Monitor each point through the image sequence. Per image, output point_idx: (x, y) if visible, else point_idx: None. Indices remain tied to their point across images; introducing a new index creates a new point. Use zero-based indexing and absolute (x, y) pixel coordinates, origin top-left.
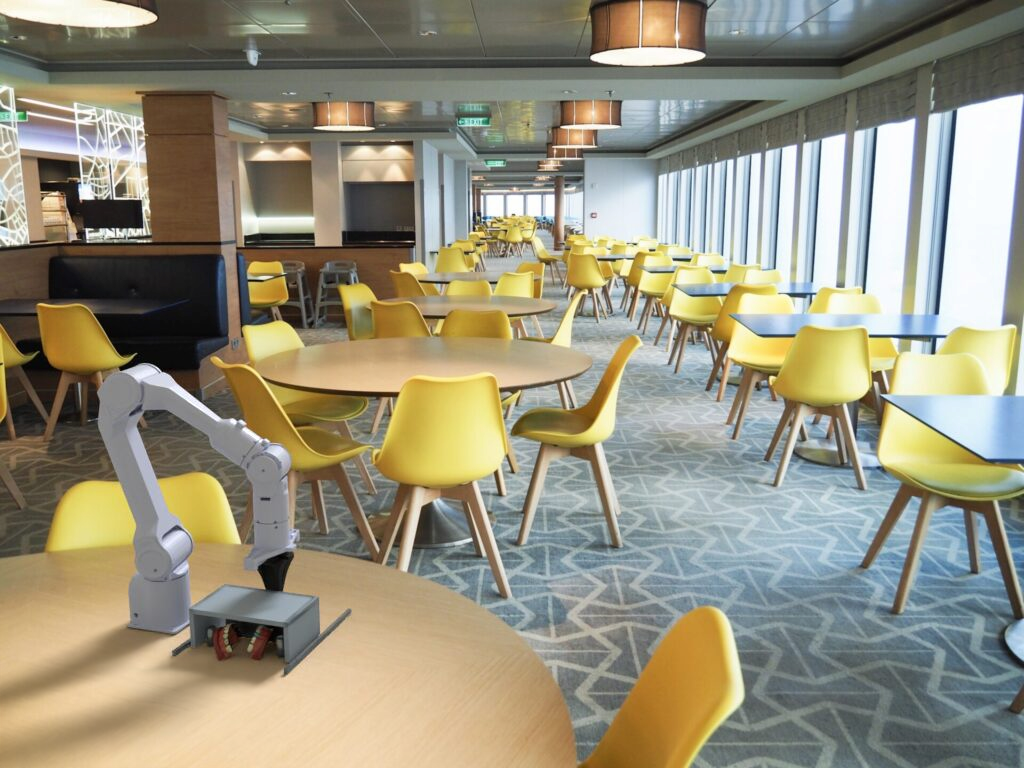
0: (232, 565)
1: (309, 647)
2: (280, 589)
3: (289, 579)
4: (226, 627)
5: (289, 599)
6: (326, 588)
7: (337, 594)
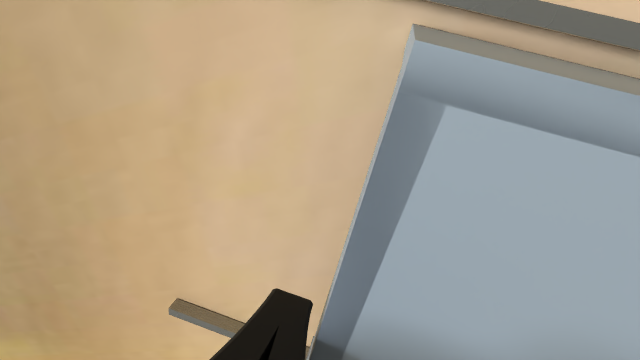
0: (47, 342)
1: (637, 28)
2: (292, 329)
3: (38, 227)
4: None
5: (459, 278)
6: (27, 107)
7: (44, 51)
